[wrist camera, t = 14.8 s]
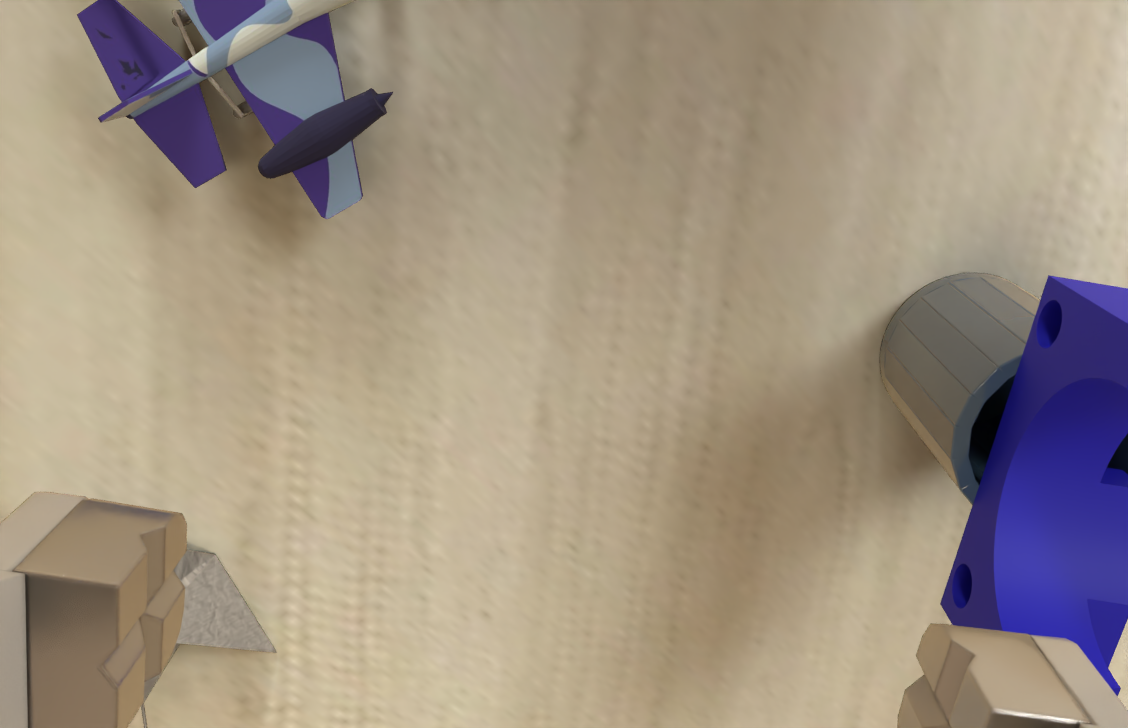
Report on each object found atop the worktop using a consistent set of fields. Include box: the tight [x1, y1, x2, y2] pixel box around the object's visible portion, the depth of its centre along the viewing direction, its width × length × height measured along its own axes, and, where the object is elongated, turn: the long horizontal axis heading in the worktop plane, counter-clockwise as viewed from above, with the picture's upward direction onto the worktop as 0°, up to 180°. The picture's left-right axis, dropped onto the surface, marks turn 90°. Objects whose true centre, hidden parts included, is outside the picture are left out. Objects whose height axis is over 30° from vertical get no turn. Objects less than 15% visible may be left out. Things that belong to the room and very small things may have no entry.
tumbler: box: [880, 273, 1128, 505], centre depth 39 cm, size 7×7×9 cm
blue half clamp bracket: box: [940, 276, 1128, 696], centre depth 32 cm, size 12×4×6 cm, turn 171°
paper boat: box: [141, 550, 277, 728], centre depth 45 cm, size 12×6×9 cm
